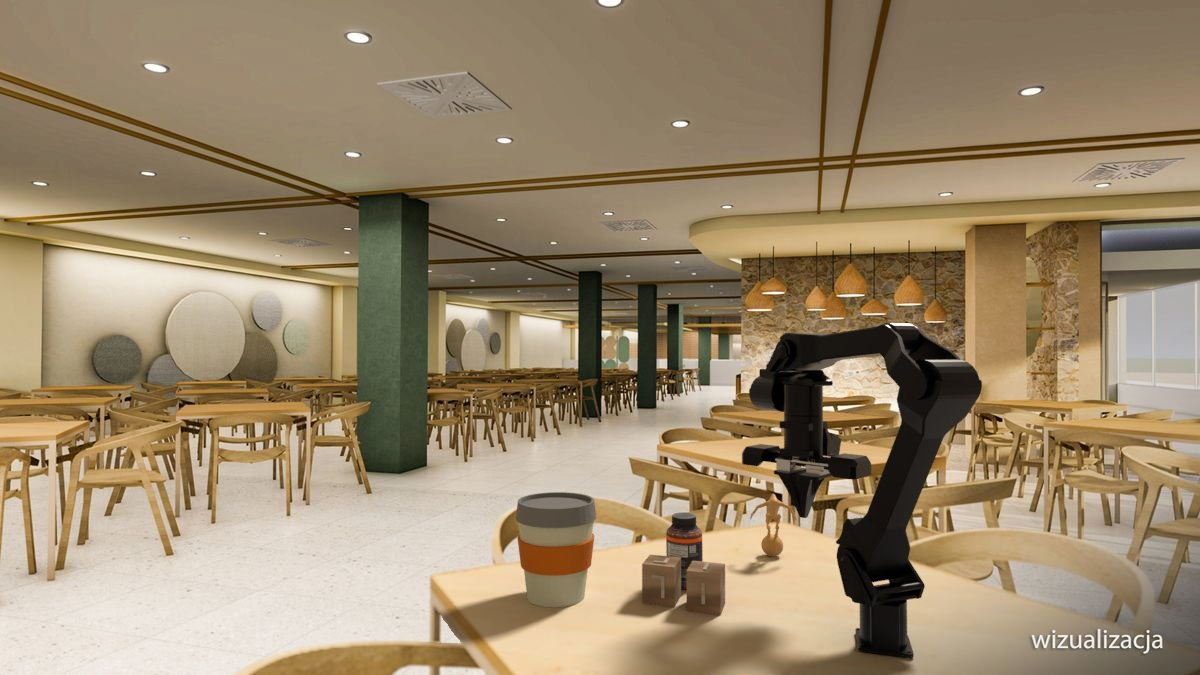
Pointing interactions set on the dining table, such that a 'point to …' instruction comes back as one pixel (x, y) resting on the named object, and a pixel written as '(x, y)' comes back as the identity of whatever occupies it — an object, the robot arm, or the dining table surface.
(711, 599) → the block one
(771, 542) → the figurine
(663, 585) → the block seven
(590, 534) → the reusable coffee cup
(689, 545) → the supplement bottle
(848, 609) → the dining table surface
